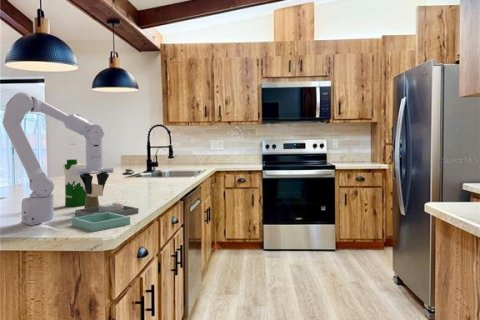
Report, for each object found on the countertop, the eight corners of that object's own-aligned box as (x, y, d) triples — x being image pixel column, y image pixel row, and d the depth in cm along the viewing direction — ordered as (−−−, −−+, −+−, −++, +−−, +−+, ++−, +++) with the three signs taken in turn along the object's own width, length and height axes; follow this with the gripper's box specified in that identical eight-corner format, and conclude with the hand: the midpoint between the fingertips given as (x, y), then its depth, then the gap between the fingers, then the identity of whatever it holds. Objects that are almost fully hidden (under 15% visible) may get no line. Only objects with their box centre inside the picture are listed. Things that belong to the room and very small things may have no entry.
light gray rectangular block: (104, 218, 136) (104, 206, 135) (98, 216, 138) (98, 205, 138) (114, 216, 139) (114, 205, 138) (108, 214, 141) (108, 204, 141)
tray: (96, 222, 132) (96, 214, 131) (75, 216, 141) (75, 209, 141) (138, 214, 144) (138, 208, 144) (116, 210, 154) (116, 204, 154)
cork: (95, 209, 156) (94, 182, 156) (103, 211, 152) (102, 183, 152) (81, 211, 152) (80, 183, 151) (88, 213, 148) (88, 185, 147)
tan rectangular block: (92, 196, 140) (92, 186, 140) (87, 195, 143) (87, 185, 143) (102, 195, 143) (102, 185, 143) (97, 194, 146) (97, 184, 146)
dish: (92, 233, 116) (92, 223, 115) (71, 227, 124) (71, 217, 124) (130, 225, 126) (130, 216, 125) (108, 220, 134) (108, 212, 134)
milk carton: (61, 206, 165) (60, 159, 164) (80, 203, 172) (79, 158, 171) (74, 207, 160) (73, 160, 159) (92, 204, 168) (91, 159, 166)
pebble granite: (116, 213, 143) (116, 204, 143) (110, 212, 146) (110, 203, 146) (125, 212, 147) (125, 203, 146) (119, 211, 149) (119, 202, 149)
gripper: (80, 157, 134) (81, 196, 135) (117, 156, 145) (118, 192, 146) (71, 157, 139) (72, 194, 139) (107, 156, 150) (108, 190, 150)
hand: (95, 193), depth 143 cm, fingers closed on tan rectangular block, 4 cm apart
